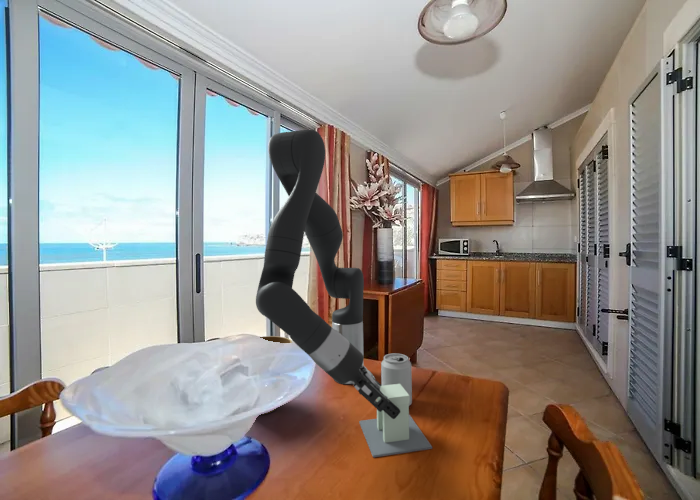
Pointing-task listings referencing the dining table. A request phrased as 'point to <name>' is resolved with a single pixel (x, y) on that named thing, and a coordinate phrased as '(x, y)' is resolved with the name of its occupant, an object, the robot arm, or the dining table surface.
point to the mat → (382, 449)
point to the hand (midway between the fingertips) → (390, 404)
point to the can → (397, 372)
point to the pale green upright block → (399, 425)
